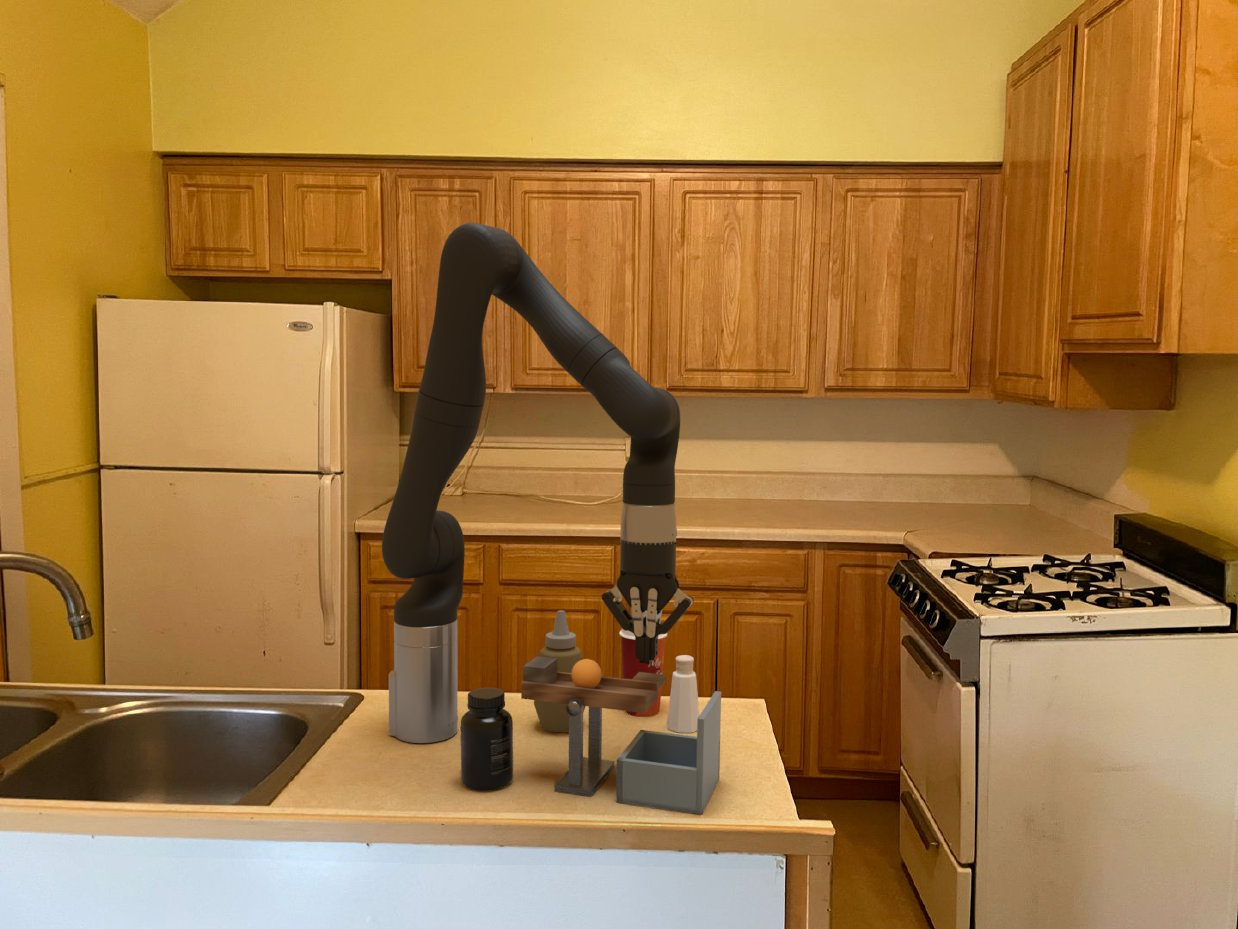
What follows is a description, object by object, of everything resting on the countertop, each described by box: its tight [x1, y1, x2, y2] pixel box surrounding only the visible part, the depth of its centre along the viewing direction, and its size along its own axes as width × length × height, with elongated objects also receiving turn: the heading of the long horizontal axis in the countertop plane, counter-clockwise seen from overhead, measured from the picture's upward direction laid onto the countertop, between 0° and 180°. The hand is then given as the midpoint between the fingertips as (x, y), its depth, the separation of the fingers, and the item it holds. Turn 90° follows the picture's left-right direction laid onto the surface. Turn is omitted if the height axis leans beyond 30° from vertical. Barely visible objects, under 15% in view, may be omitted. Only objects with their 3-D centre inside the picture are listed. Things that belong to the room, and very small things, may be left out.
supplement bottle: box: [459, 687, 514, 792], centre depth 124 cm, size 7×7×12 cm
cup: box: [615, 690, 722, 816], centre depth 122 cm, size 11×11×12 cm
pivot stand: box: [553, 698, 615, 798], centre depth 125 cm, size 5×10×12 cm, turn 163°
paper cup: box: [619, 628, 668, 718], centre depth 152 cm, size 8×8×14 cm
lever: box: [520, 655, 667, 713], centre depth 128 cm, size 17×13×4 cm
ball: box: [571, 658, 603, 689], centre depth 125 cm, size 4×4×4 cm
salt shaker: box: [666, 654, 700, 734], centre depth 145 cm, size 5×5×11 cm
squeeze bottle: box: [533, 609, 587, 733], centre depth 144 cm, size 8×8×18 cm
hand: (646, 662), depth 129 cm, fingers closed
